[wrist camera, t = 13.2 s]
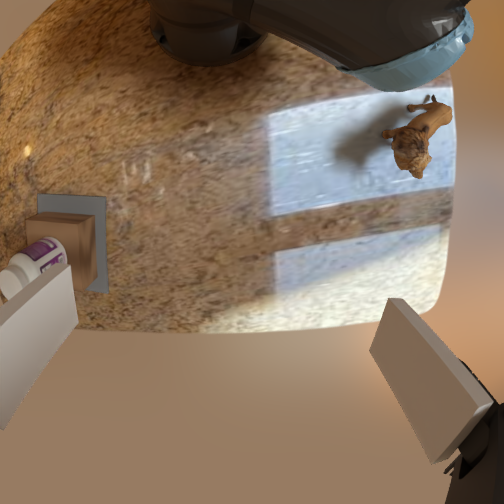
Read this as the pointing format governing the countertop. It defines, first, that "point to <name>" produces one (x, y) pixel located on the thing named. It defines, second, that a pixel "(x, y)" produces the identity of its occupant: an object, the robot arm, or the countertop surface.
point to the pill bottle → (30, 264)
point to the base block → (69, 242)
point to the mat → (97, 208)
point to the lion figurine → (418, 136)
